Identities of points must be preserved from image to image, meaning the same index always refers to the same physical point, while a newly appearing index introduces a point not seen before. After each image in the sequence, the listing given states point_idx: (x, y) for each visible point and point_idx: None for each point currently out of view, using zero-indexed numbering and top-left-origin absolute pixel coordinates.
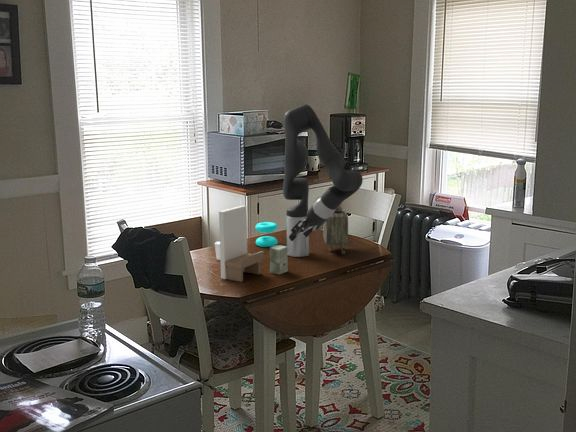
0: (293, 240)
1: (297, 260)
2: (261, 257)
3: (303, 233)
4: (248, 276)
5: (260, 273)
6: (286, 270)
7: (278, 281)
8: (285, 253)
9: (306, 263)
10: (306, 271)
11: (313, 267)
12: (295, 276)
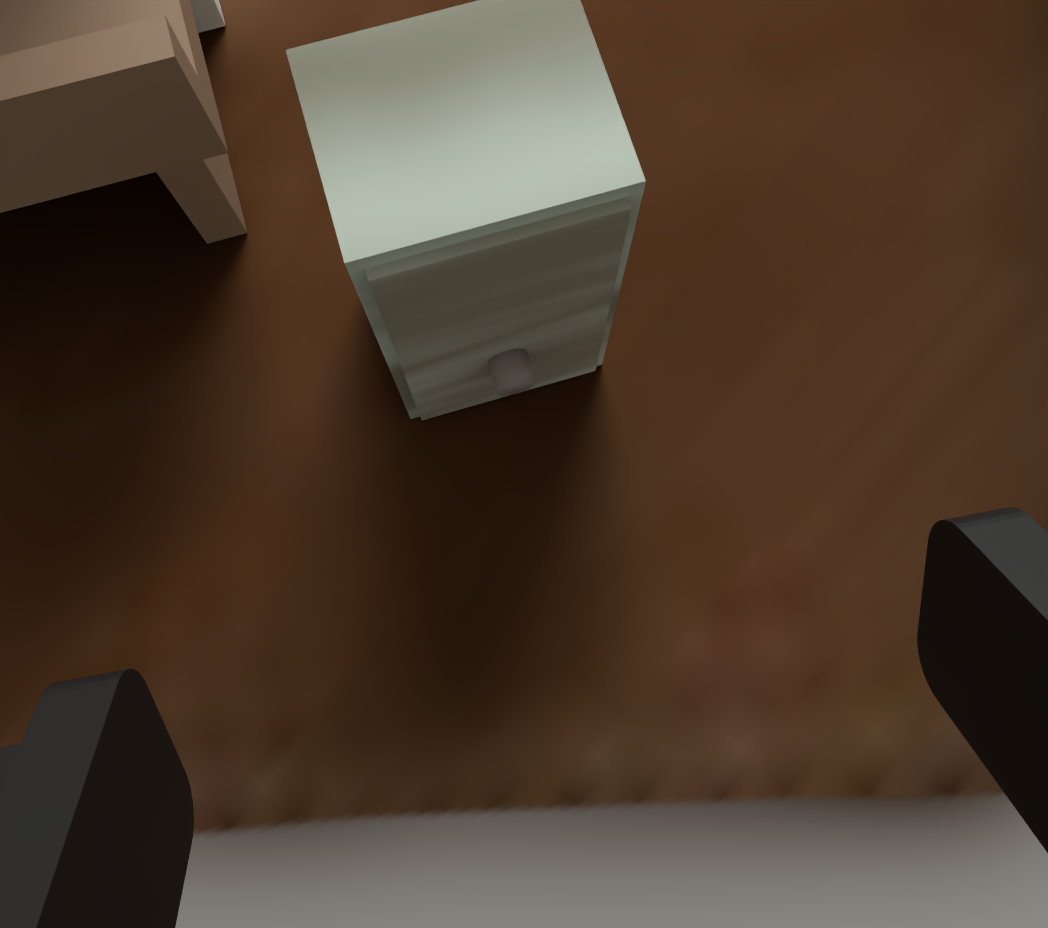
0: (190, 846)
1: (1017, 83)
2: (142, 137)
3: (942, 539)
4: (57, 226)
5: (245, 232)
6: (569, 376)
7: (187, 659)
8: (558, 273)
9: (1037, 260)
10: (801, 551)
11: (1004, 468)
12: (523, 634)
